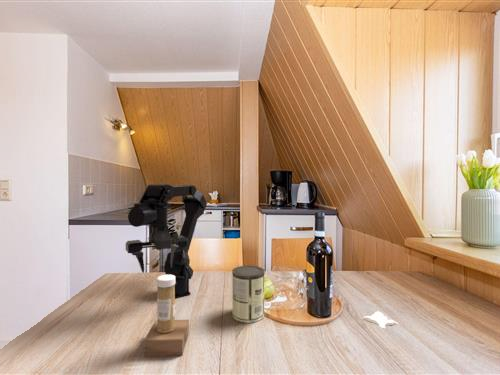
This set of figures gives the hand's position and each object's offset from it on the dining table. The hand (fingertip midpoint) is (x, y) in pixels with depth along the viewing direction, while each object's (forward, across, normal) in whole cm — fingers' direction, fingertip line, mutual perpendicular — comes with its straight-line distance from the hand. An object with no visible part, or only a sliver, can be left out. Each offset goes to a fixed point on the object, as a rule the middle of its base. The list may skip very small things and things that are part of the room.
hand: (157, 269), depth 85 cm
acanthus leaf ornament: (+14, +54, -44) cm, 71 cm away
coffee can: (+13, +23, -19) cm, 33 cm away
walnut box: (+13, -3, -21) cm, 25 cm away
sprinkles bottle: (+9, -3, -20) cm, 23 cm away
